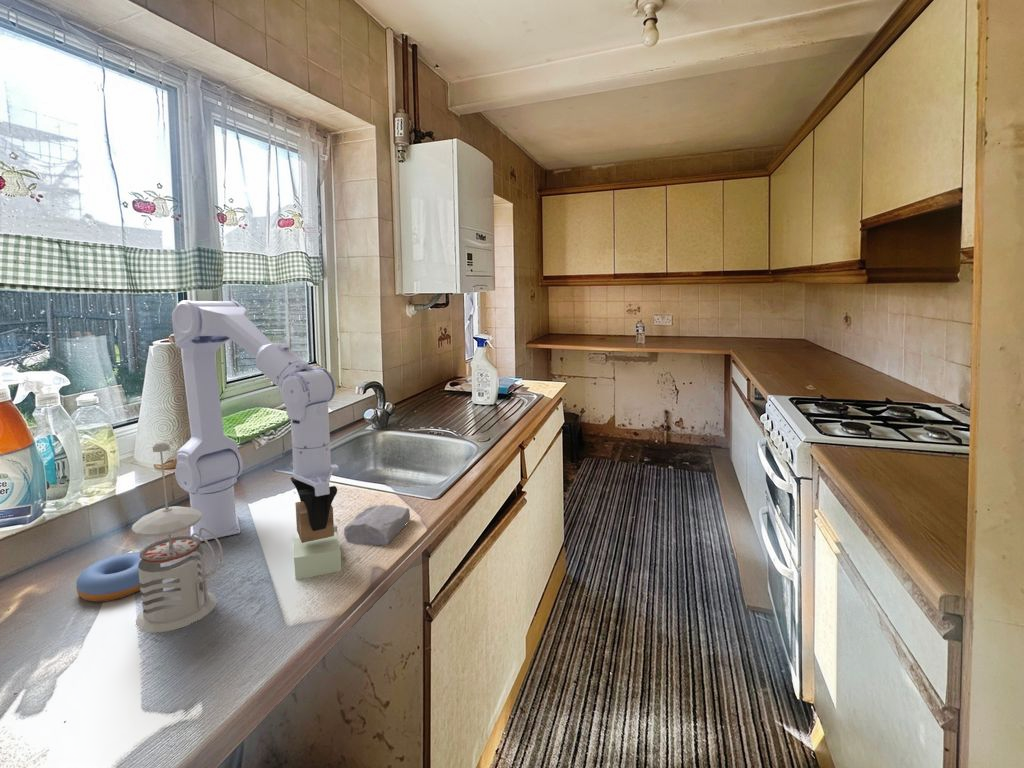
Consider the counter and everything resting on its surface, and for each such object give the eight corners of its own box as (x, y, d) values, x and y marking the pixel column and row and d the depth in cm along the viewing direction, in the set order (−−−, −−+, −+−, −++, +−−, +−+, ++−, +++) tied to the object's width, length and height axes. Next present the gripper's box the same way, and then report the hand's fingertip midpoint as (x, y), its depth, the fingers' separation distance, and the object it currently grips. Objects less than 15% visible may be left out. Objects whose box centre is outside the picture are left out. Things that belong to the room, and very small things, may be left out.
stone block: (341, 552, 93) (390, 547, 91) (335, 527, 92) (385, 522, 90) (370, 526, 104) (414, 522, 102) (365, 504, 104) (410, 499, 102)
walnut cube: (296, 530, 84) (295, 502, 83) (327, 524, 87) (326, 496, 86) (301, 543, 80) (300, 513, 79) (334, 536, 83) (332, 507, 82)
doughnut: (141, 600, 74) (137, 570, 73) (61, 612, 71) (57, 581, 71) (170, 571, 83) (167, 544, 83) (101, 580, 81) (97, 553, 81)
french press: (168, 589, 77) (151, 431, 72) (242, 592, 76) (230, 433, 72) (116, 631, 67) (93, 451, 63) (201, 634, 67) (184, 454, 62)
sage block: (294, 560, 86) (293, 538, 86) (337, 552, 89) (336, 531, 88) (295, 581, 80) (294, 558, 79) (341, 572, 83) (340, 549, 82)
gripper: (348, 451, 77) (351, 533, 79) (326, 430, 89) (329, 502, 91) (299, 458, 73) (304, 544, 76) (283, 435, 85) (288, 510, 88)
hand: (315, 522), depth 83 cm, fingers closed on walnut cube, 5 cm apart
